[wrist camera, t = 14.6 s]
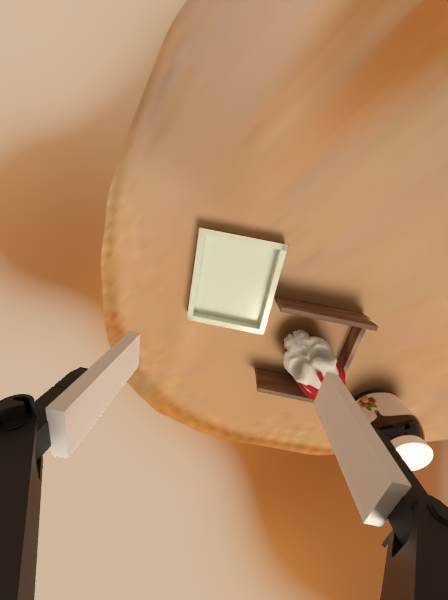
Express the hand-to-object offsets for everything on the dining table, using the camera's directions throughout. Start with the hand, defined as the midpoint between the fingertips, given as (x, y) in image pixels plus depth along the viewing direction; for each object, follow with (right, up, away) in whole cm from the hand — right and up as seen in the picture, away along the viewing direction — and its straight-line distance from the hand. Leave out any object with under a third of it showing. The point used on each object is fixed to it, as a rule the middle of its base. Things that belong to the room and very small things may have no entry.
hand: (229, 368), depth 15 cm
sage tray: (+2, +8, +25) cm, 27 cm away
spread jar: (+32, -20, +32) cm, 50 cm away
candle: (+14, -3, +29) cm, 32 cm away
